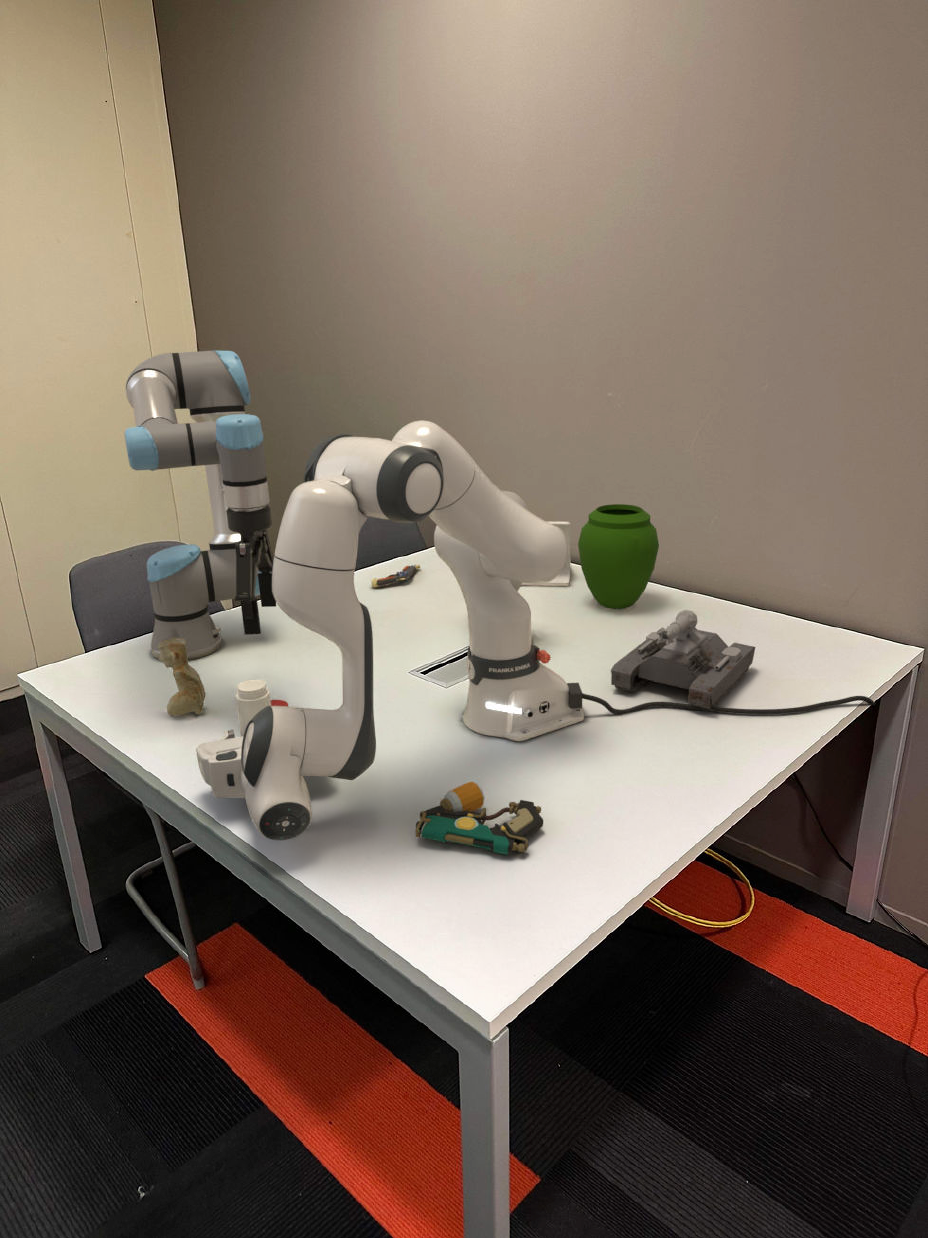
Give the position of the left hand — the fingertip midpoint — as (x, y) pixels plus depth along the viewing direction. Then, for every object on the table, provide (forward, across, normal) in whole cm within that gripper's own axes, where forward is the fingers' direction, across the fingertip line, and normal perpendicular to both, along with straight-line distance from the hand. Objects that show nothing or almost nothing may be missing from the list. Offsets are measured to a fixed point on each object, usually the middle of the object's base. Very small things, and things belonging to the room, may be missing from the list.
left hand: (261, 619), depth 157 cm
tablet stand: (+20, -81, +54) cm, 99 cm away
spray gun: (+18, +41, +39) cm, 59 cm away
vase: (+20, -55, +75) cm, 95 cm away
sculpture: (+19, -1, -16) cm, 25 cm away
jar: (+19, +20, +2) cm, 28 cm away
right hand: (+12, +19, +2) cm, 23 cm away
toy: (+19, -9, +81) cm, 84 cm away
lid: (+18, +1, 0) cm, 18 cm away
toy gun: (+21, -81, +18) cm, 85 cm away
